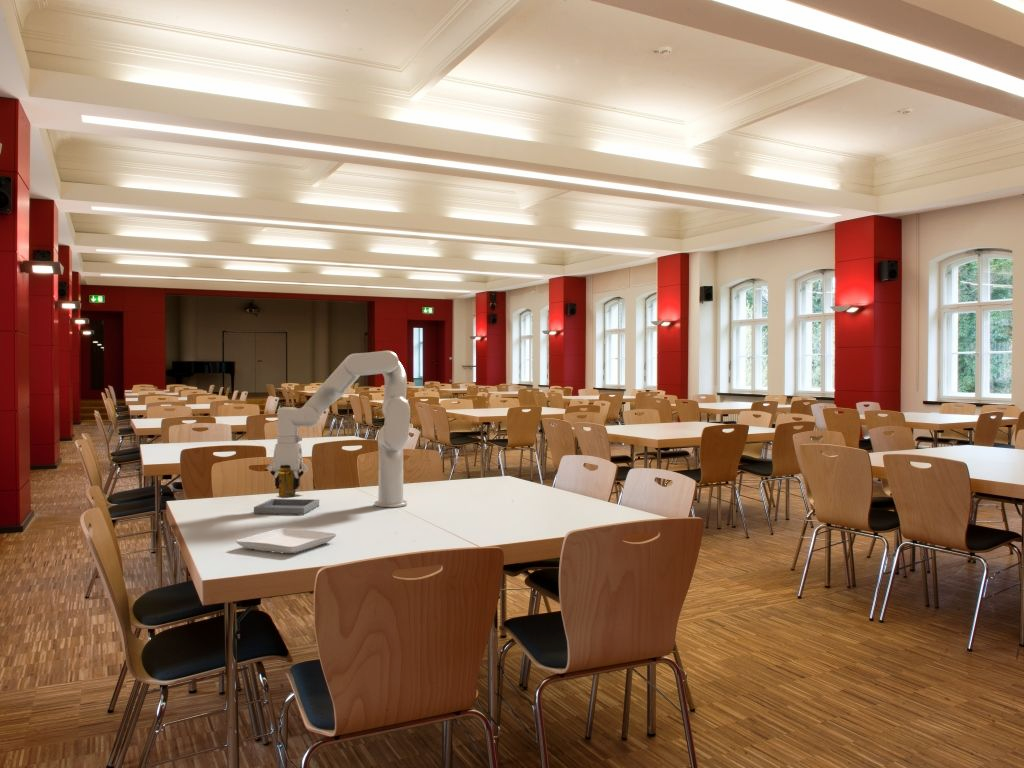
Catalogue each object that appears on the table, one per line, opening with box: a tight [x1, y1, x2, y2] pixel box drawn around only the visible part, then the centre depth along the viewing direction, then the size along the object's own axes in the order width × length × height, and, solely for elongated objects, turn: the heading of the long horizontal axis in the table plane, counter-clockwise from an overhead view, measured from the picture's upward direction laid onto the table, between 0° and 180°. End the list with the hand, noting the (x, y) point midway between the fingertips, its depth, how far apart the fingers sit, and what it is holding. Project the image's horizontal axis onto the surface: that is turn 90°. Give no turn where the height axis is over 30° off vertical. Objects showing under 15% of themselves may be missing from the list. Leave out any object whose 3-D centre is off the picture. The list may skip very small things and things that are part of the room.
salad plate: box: [235, 527, 337, 554], centre depth 228 cm, size 21×21×3 cm
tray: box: [253, 498, 320, 516], centre depth 287 cm, size 18×18×2 cm
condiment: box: [276, 465, 303, 499], centre depth 287 cm, size 7×8×12 cm
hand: (287, 488), depth 287 cm, fingers closed on condiment, 6 cm apart
